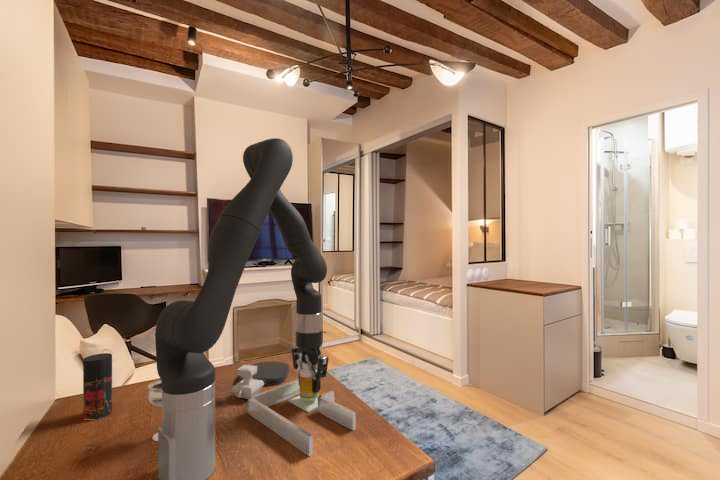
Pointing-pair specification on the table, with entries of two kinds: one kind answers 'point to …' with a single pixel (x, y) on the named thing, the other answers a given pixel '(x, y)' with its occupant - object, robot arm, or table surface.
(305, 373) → the supplement bottle
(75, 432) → the table surface
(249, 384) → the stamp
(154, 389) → the wineglass
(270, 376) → the media streaming box
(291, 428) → the channel
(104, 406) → the deodorant
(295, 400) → the pad
